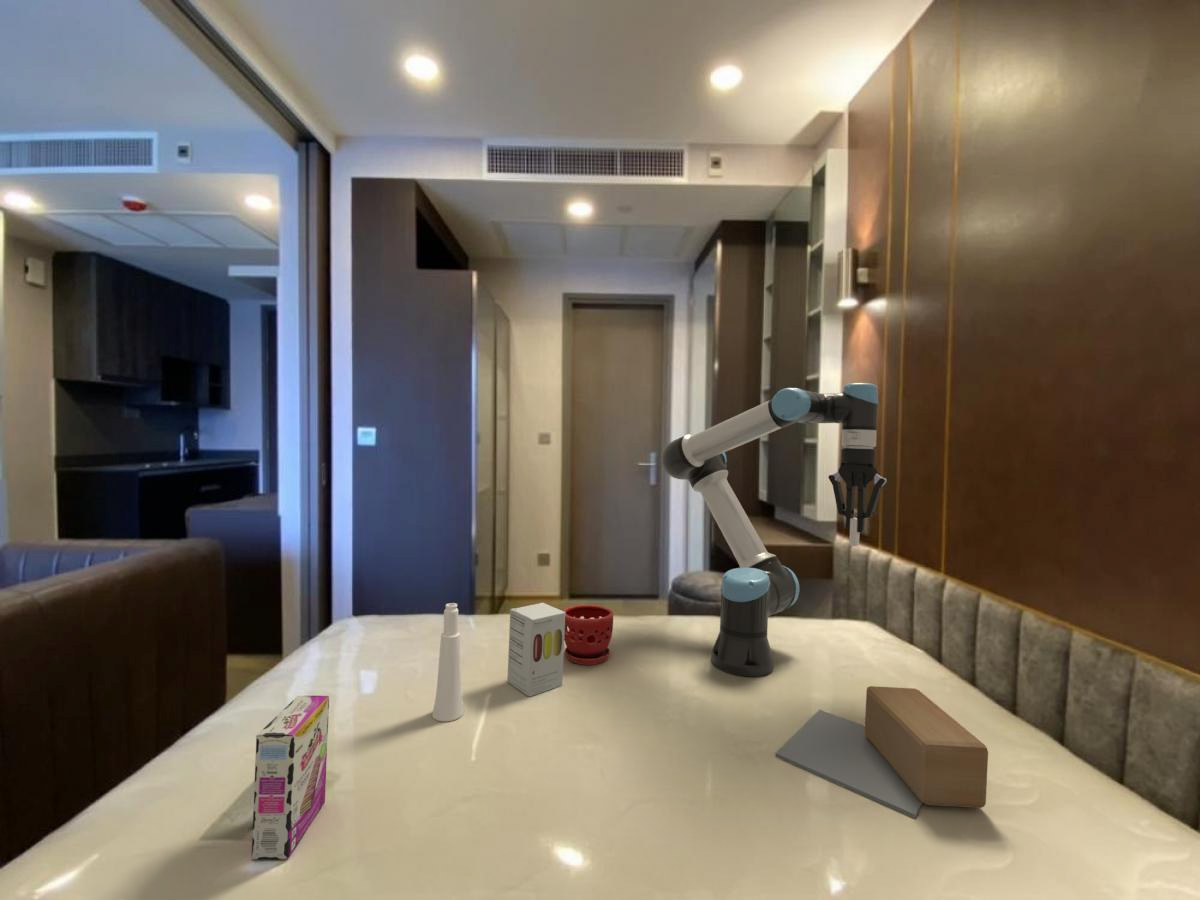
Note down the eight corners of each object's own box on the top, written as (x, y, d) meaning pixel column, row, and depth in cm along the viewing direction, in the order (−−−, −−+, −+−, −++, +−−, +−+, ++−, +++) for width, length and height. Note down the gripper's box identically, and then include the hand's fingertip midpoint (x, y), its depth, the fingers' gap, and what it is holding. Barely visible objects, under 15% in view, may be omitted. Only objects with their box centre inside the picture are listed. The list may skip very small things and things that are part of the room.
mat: (775, 756, 94) (775, 753, 94) (819, 712, 111) (819, 709, 111) (915, 818, 80) (915, 814, 80) (942, 757, 96) (942, 753, 96)
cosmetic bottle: (469, 714, 105) (473, 604, 105) (442, 725, 101) (445, 611, 100) (453, 703, 109) (456, 598, 109) (426, 713, 105) (429, 604, 104)
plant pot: (621, 655, 137) (622, 609, 136) (593, 673, 126) (595, 623, 125) (579, 643, 144) (581, 600, 143) (550, 659, 133) (551, 612, 132)
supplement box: (528, 698, 113) (530, 619, 112) (505, 682, 119) (508, 608, 119) (564, 685, 119) (566, 611, 119) (540, 671, 126) (542, 601, 125)
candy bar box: (290, 861, 68) (293, 735, 67) (249, 862, 67) (252, 736, 67) (328, 801, 79) (330, 693, 79) (293, 802, 78) (296, 693, 78)
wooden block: (915, 738, 101) (988, 811, 81) (862, 735, 101) (922, 807, 81) (917, 686, 101) (991, 747, 81) (864, 683, 101) (925, 743, 81)
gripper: (825, 446, 129) (821, 542, 129) (884, 448, 120) (879, 551, 120) (835, 447, 134) (831, 539, 135) (892, 449, 125) (888, 547, 126)
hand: (854, 544), depth 127 cm, fingers closed
